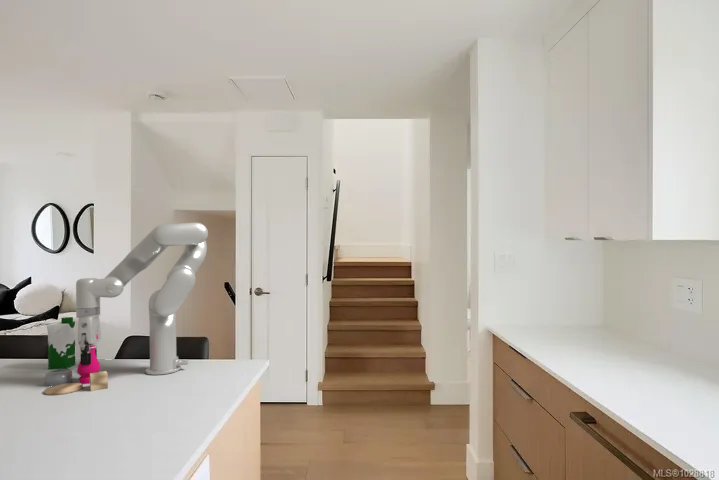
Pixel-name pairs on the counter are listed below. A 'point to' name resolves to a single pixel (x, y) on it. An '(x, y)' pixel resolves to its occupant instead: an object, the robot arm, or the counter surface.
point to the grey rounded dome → (58, 377)
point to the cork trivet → (63, 389)
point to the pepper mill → (89, 366)
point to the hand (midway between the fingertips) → (88, 361)
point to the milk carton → (61, 344)
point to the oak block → (98, 381)
